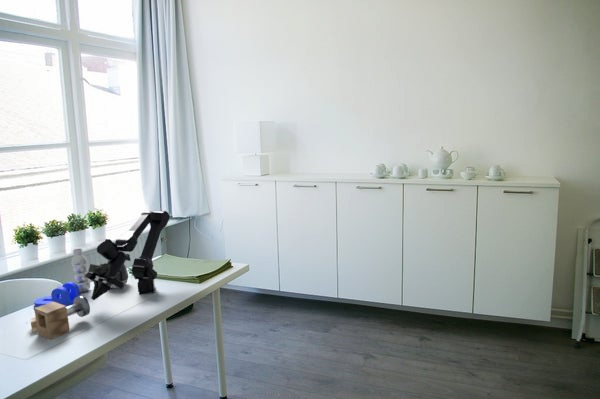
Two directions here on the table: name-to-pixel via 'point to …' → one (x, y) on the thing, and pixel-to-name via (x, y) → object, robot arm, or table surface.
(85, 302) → the shaft
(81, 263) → the plastic bottle
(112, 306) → the table surface
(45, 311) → the bearing block
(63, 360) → the table surface
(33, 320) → the spacer block
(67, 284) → the bracket
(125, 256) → the robot arm
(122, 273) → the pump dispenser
